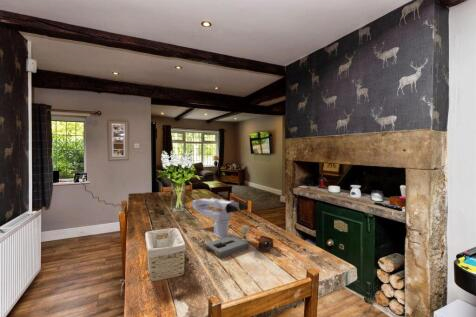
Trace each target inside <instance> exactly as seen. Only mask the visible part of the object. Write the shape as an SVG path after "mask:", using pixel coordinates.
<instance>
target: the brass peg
mask: <svg viewBox="0 0 476 317" xmlns="http://www.w3.org/2000/svg"><path fill="white" fill-rule="evenodd" d="M240 233H241V234H243V235H242V236H243V237H240V239H242V240H245V241H247V242H249V238H248V237H247V234H249V233H250V226H249V225H247V224H244V225H241V226H240Z"/></svg>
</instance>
